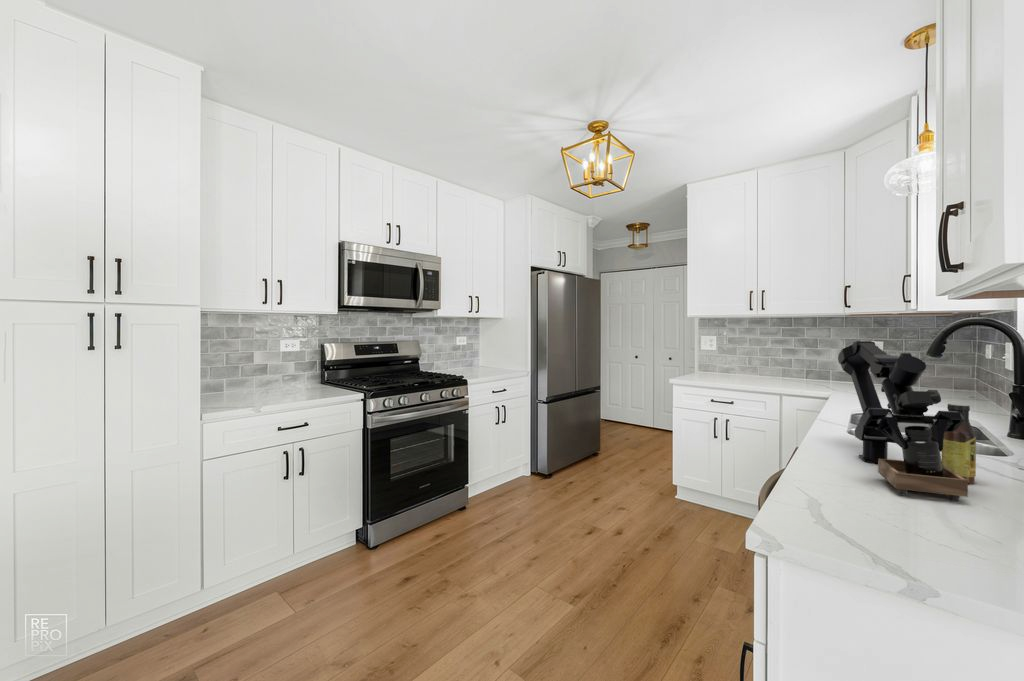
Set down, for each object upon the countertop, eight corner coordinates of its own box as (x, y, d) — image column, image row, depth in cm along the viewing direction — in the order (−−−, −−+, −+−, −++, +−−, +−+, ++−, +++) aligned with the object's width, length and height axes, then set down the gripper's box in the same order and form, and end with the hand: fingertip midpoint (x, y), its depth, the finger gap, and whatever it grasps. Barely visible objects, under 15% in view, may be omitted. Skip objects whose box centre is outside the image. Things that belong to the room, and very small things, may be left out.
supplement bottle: (899, 472, 110) (893, 425, 110) (933, 471, 108) (926, 423, 108) (915, 481, 104) (908, 431, 104) (950, 480, 102) (944, 430, 102)
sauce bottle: (978, 486, 109) (980, 407, 108) (943, 481, 112) (944, 405, 112) (972, 478, 114) (973, 403, 113) (938, 474, 118) (940, 401, 117)
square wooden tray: (878, 478, 115) (878, 458, 115) (941, 485, 109) (941, 464, 109) (896, 496, 103) (896, 473, 103) (967, 504, 98) (967, 480, 98)
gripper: (867, 377, 112) (886, 429, 102) (960, 378, 106) (990, 435, 96) (854, 401, 120) (871, 452, 110) (940, 404, 114) (966, 459, 104)
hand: (922, 449), depth 105 cm, fingers closed on supplement bottle, 6 cm apart
